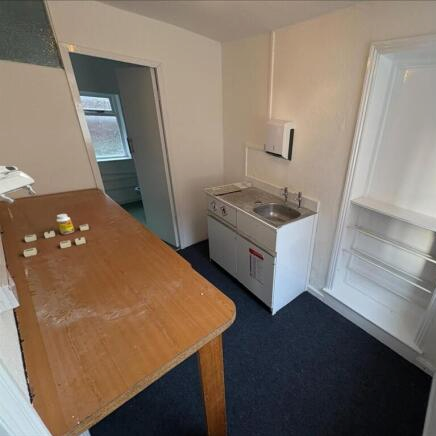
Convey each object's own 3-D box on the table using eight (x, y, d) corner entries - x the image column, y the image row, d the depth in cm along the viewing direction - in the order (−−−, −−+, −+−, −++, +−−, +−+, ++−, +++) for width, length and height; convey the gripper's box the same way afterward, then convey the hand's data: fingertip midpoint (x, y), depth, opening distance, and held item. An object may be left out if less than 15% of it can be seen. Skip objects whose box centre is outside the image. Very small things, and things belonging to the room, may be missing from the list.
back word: (25, 242, 115) (24, 239, 114) (26, 239, 119) (25, 235, 118) (89, 229, 131) (88, 226, 130) (88, 226, 134) (87, 223, 133)
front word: (25, 257, 104) (23, 252, 104) (26, 253, 107) (24, 249, 106) (85, 242, 118) (84, 239, 117) (85, 240, 120) (84, 236, 119)
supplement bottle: (63, 235, 123) (56, 217, 119) (59, 232, 126) (52, 215, 122) (76, 231, 128) (70, 214, 123) (72, 229, 130) (66, 212, 126)
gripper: (-33, 178, 94) (3, 203, 100) (18, 165, 112) (47, 187, 118) (-40, 187, 96) (-4, 211, 101) (12, 172, 114) (40, 193, 119)
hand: (24, 198), depth 110 cm, fingers open, 8 cm apart
